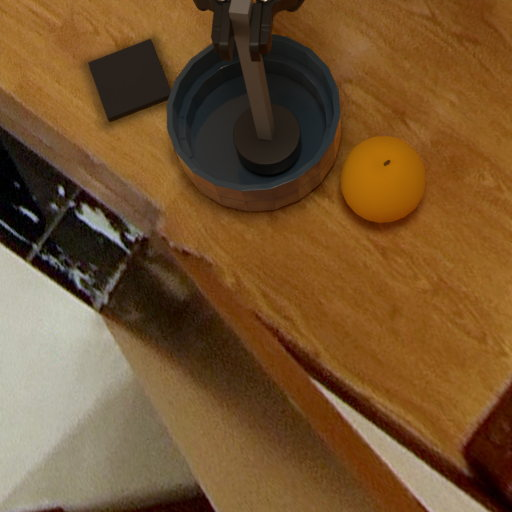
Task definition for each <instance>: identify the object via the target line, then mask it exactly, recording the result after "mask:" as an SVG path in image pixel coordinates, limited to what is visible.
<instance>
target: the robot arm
mask: <svg viewBox="0 0 512 512" xmlns="http://www.w3.org/2000/svg"><path fill="white" fill-rule="evenodd" d="M305 1H306V0H255V2H252V3H253V6H252V16H251V27H250V39H249V53H250V57H251V62H261V60H262V54H268V53H269V52H270V50H271V45H272V34H273V32H274V31H273V30H274V20H275V17H276V16H277V15H278V14H279V13H281V12H284V11H286V12H288V13H295V12H297V11H298V10H299V9H300V8H301V6H303V4H304V2H305ZM192 2H193V3H194V6H195V7H196V9H198V10H199V11H201V12H206V11H209V12H212V25H211V33H210V38H211V42H212V43H213V46H214V49H215V52H216V53H217V54H220V56H221V59H222V61H232V57H233V46H234V36H235V35H234V31H233V27H232V22H231V19H230V15H229V9H230V4H231V0H192ZM212 43H211V44H212Z"/></svg>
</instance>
